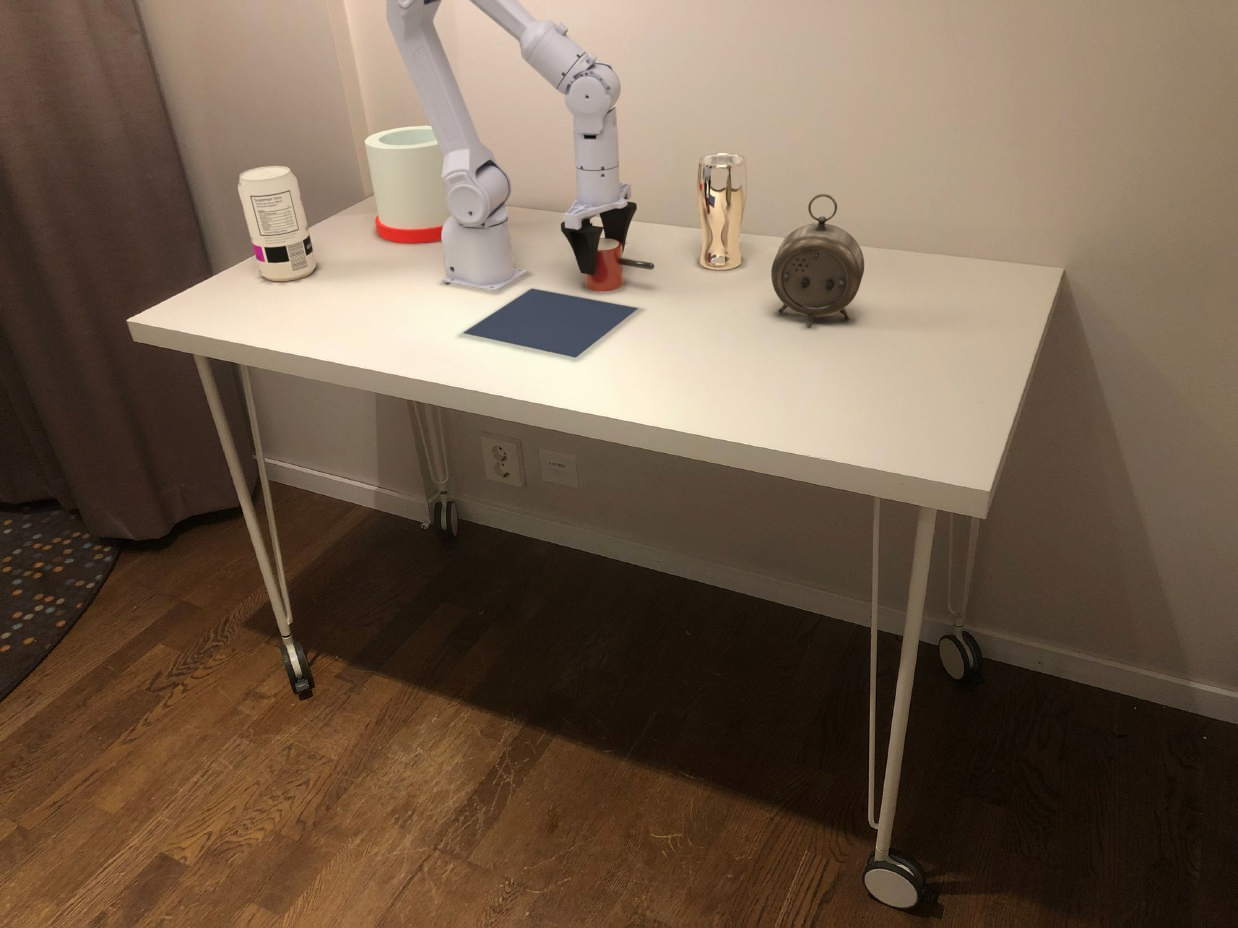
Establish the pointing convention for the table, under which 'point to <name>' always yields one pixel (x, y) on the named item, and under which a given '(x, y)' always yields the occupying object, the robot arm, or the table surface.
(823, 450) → the table surface
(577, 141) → the robot arm
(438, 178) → the container
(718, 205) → the beer glass
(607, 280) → the pot
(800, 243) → the alarm clock
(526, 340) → the cloth
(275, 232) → the supplement can
